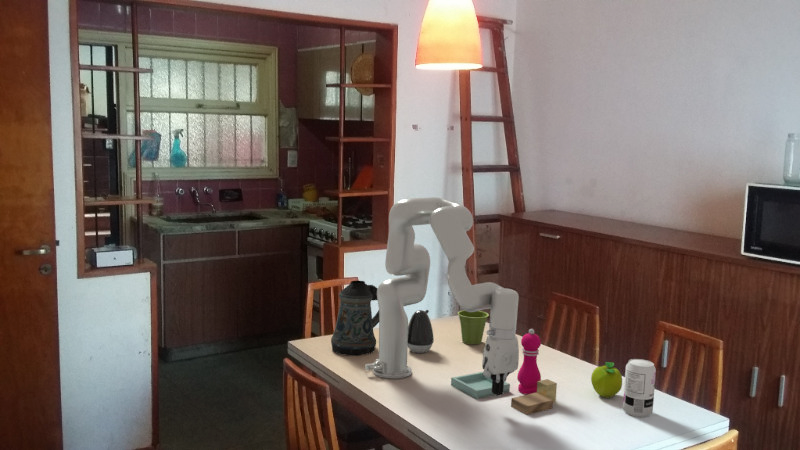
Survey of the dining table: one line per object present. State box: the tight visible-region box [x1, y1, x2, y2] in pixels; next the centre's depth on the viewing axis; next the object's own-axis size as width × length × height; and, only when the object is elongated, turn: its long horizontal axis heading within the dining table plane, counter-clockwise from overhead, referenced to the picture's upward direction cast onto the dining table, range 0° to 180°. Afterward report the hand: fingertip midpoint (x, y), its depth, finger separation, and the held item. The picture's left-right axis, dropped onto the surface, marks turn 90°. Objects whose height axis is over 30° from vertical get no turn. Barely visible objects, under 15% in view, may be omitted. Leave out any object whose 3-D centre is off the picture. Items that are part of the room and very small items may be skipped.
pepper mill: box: [517, 328, 542, 395], centre depth 222 cm, size 7×7×20 cm
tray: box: [450, 370, 511, 400], centre depth 225 cm, size 13×13×2 cm
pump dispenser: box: [408, 309, 435, 354], centre depth 261 cm, size 10×10×15 cm
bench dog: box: [537, 378, 558, 404], centre depth 215 cm, size 4×4×6 cm
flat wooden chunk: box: [510, 392, 554, 416], centre depth 210 cm, size 10×7×3 cm
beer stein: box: [330, 280, 379, 357], centre depth 261 cm, size 16×19×25 cm
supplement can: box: [622, 358, 657, 418], centre depth 208 cm, size 8×8×15 cm
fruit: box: [590, 361, 623, 398], centre depth 221 cm, size 9×9×10 cm
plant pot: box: [457, 309, 490, 346], centre depth 274 cm, size 12×12×11 cm
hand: (497, 393), depth 206 cm, fingers closed
